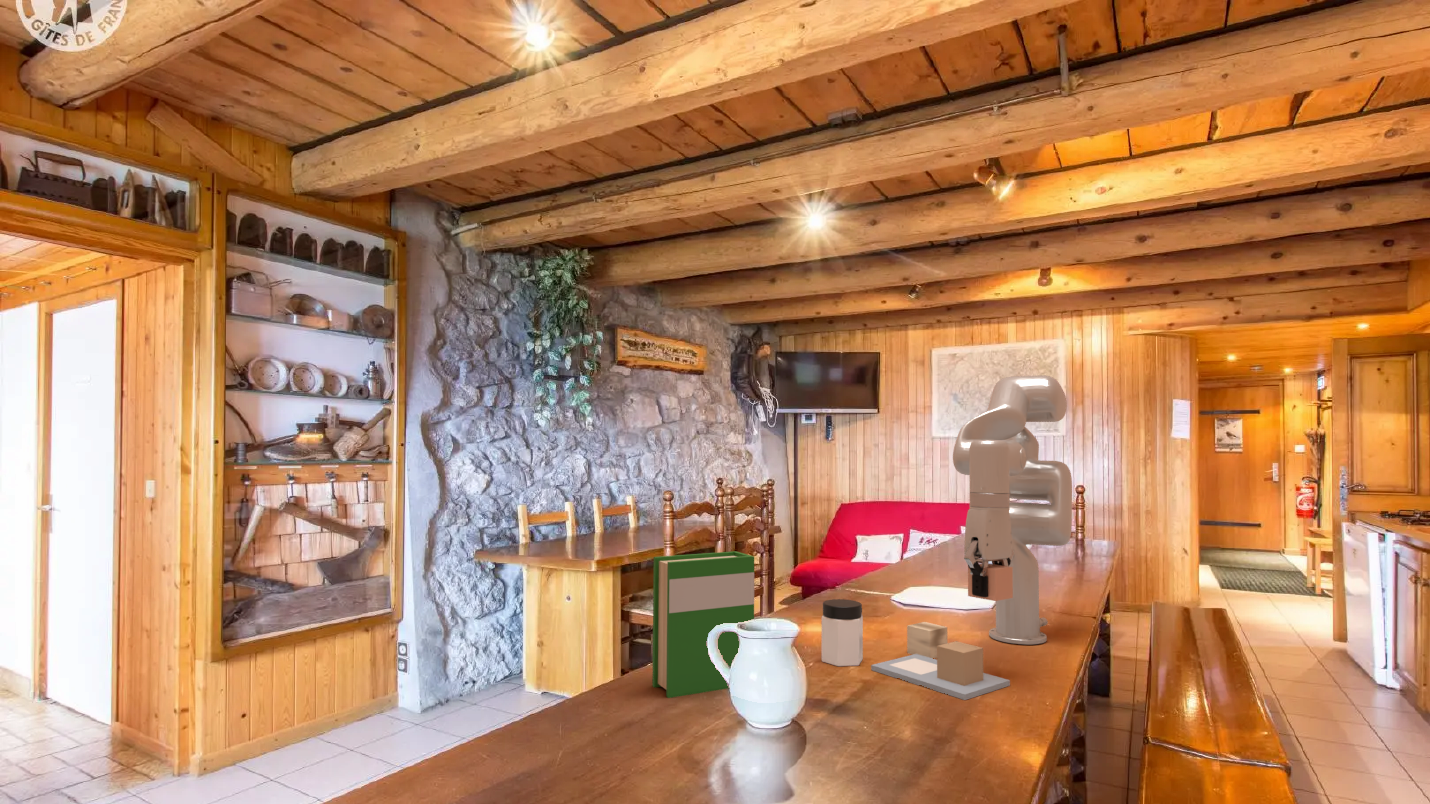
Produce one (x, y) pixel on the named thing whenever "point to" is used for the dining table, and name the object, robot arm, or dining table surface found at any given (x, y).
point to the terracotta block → (996, 582)
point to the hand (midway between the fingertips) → (990, 593)
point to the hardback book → (697, 617)
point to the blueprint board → (938, 682)
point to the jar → (842, 632)
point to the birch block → (925, 638)
